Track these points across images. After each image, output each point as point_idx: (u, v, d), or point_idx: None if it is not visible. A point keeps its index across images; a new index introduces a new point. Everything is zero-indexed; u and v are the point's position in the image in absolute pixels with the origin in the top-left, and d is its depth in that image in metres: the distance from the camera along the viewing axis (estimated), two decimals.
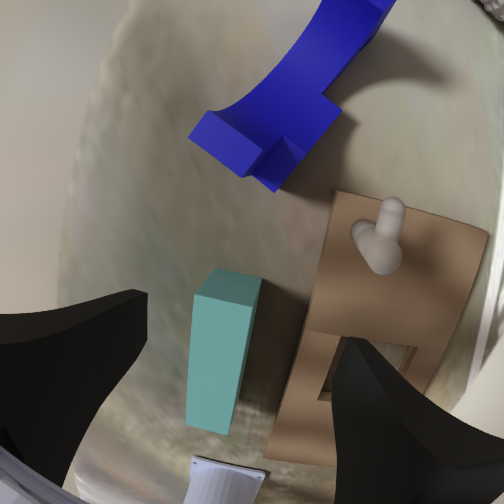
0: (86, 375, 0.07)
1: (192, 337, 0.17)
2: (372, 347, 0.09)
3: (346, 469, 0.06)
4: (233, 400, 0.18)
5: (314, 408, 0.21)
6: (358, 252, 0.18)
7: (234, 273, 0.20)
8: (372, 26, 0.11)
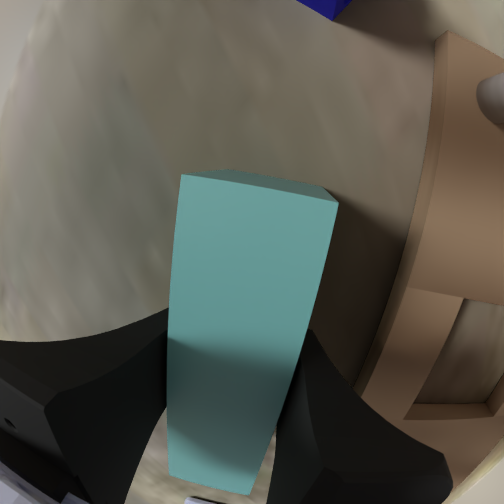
0: (146, 399, 0.07)
1: (173, 299, 0.07)
2: (314, 338, 0.09)
3: (277, 462, 0.07)
4: (266, 442, 0.08)
5: None
6: (491, 135, 0.07)
7: (267, 176, 0.10)
8: None
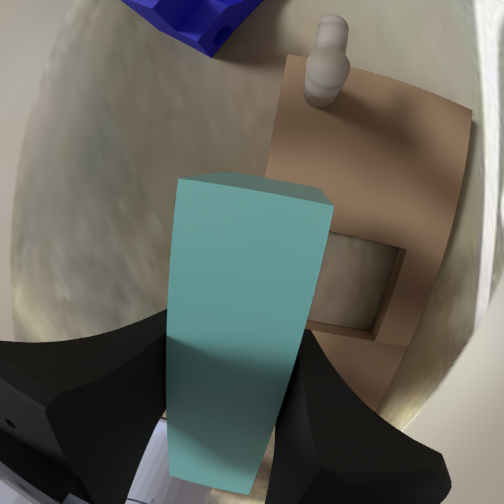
0: (147, 399, 0.07)
1: (172, 301, 0.07)
2: (313, 338, 0.09)
3: (276, 462, 0.07)
4: (265, 443, 0.08)
5: None
6: (316, 116, 0.14)
7: (265, 178, 0.10)
8: None
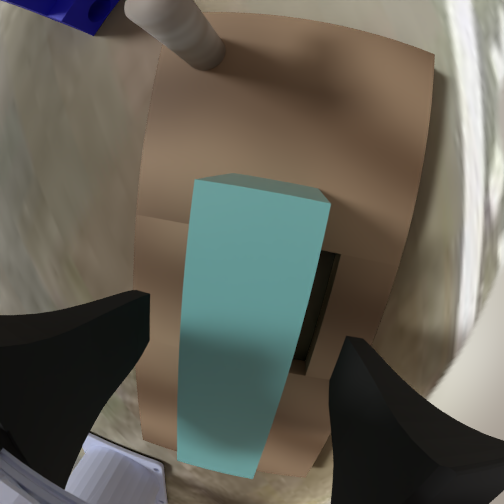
0: (89, 376, 0.07)
1: (186, 289, 0.08)
2: (369, 347, 0.09)
3: (342, 469, 0.06)
4: (269, 423, 0.09)
5: None
6: (200, 81, 0.11)
7: (268, 179, 0.11)
8: None
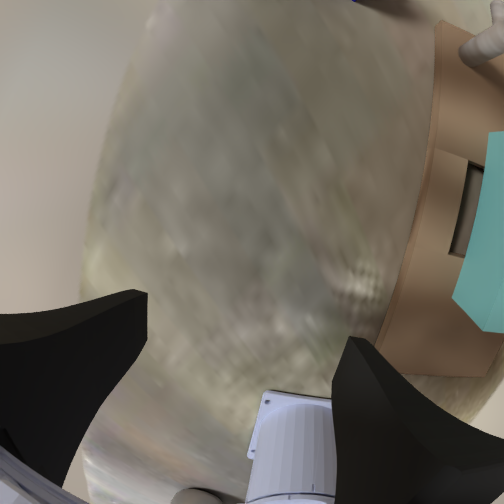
0: (86, 375, 0.07)
1: None
2: (372, 347, 0.09)
3: (346, 469, 0.06)
4: None
5: (444, 269, 0.17)
6: (468, 72, 0.13)
7: None
8: None
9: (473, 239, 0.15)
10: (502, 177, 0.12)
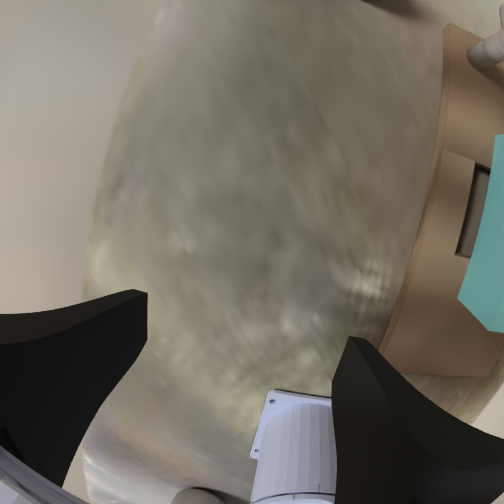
0: (86, 375, 0.07)
1: None
2: (372, 347, 0.09)
3: (346, 469, 0.06)
4: None
5: (450, 269, 0.16)
6: (476, 75, 0.13)
7: None
8: None
9: (479, 240, 0.15)
10: None
